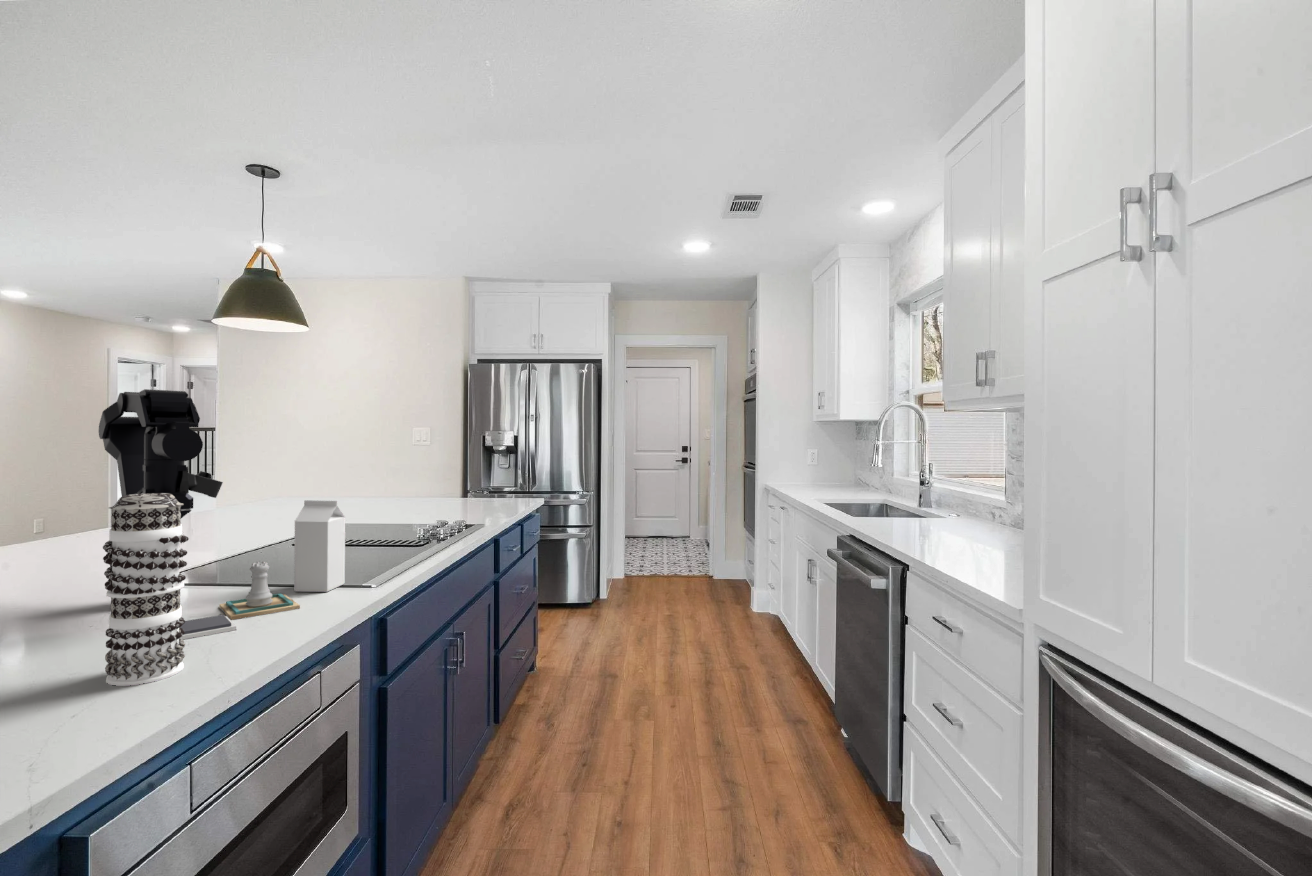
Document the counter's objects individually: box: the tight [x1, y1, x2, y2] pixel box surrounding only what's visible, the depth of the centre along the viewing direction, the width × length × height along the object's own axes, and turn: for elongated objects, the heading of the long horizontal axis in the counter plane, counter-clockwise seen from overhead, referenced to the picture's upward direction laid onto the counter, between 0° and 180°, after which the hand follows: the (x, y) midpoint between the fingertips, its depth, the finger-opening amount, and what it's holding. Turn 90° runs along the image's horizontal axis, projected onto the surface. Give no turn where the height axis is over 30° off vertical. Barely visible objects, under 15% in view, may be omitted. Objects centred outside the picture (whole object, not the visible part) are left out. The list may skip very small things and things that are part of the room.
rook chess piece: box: [245, 561, 273, 607], centre depth 118 cm, size 4×4×8 cm
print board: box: [218, 592, 301, 621], centre depth 118 cm, size 11×11×1 cm
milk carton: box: [293, 500, 346, 593], centre depth 133 cm, size 7×7×19 cm
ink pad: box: [180, 614, 237, 641], centre depth 105 cm, size 8×8×1 cm
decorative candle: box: [102, 493, 190, 687], centre depth 86 cm, size 9×9×25 cm
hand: (164, 545), depth 111 cm, fingers open, 9 cm apart
